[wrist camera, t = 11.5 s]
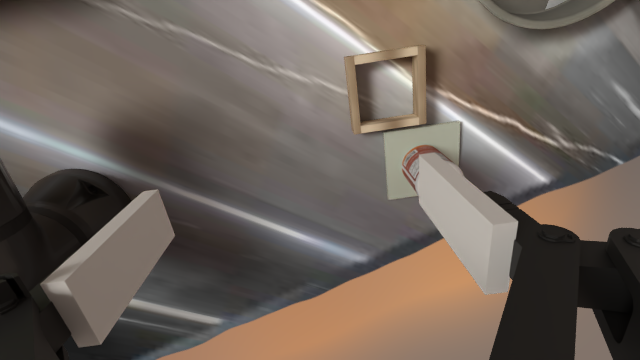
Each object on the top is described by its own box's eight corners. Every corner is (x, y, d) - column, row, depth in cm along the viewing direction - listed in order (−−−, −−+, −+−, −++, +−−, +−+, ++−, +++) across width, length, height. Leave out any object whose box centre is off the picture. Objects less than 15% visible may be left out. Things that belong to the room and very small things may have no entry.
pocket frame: (351, 129, 46) (354, 134, 43) (344, 57, 42) (346, 57, 39) (420, 119, 45) (426, 123, 43) (419, 45, 41) (425, 45, 39)
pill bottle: (439, 179, 49) (473, 215, 38) (400, 183, 49) (423, 220, 38) (442, 141, 46) (479, 168, 36) (400, 145, 46) (425, 173, 36)
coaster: (387, 198, 50) (388, 199, 50) (383, 131, 46) (383, 132, 45) (456, 188, 50) (457, 190, 49) (458, 120, 46) (460, 121, 45)
